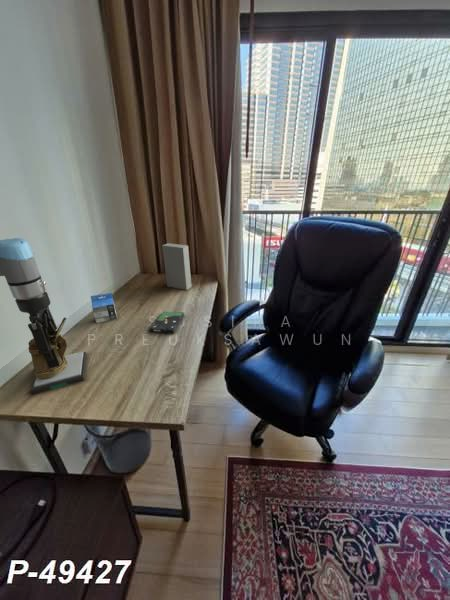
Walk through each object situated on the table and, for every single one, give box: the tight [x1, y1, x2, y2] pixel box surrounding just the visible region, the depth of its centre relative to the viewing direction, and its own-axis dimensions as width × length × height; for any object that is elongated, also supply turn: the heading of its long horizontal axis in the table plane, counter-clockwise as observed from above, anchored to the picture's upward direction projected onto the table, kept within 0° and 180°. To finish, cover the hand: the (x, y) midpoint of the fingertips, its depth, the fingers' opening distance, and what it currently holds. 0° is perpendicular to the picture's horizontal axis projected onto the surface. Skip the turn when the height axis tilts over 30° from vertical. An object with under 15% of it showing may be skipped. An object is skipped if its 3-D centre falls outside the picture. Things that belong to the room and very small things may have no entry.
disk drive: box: [150, 310, 185, 335], centre depth 110 cm, size 10×3×15 cm
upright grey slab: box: [161, 242, 193, 291], centre depth 143 cm, size 14×6×25 cm, turn 65°
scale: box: [30, 351, 88, 395], centre depth 83 cm, size 14×14×3 cm
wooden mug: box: [28, 317, 68, 378], centre depth 78 cm, size 9×14×18 cm, turn 104°
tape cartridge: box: [90, 292, 118, 324], centre depth 112 cm, size 9×4×12 cm, turn 112°
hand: (56, 358), depth 81 cm, fingers closed on wooden mug, 7 cm apart
